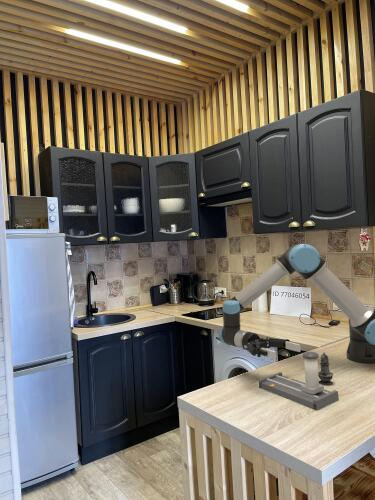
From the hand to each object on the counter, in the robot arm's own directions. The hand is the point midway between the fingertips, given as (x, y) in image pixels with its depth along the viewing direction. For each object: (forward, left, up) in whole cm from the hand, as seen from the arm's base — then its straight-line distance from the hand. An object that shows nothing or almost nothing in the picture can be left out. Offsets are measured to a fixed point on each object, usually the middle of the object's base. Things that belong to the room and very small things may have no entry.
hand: (287, 351), depth 134 cm
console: (0, +3, -15) cm, 15 cm away
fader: (0, +10, -11) cm, 15 cm away
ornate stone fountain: (-16, +4, -15) cm, 22 cm away
